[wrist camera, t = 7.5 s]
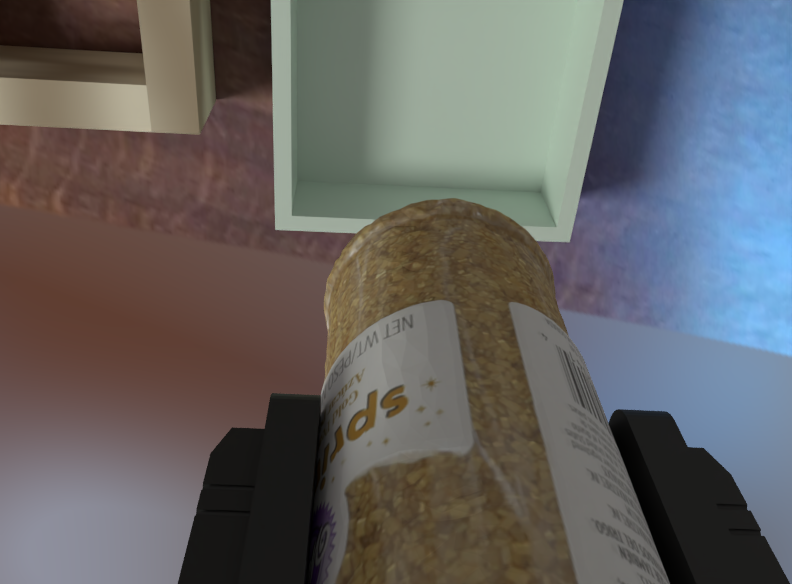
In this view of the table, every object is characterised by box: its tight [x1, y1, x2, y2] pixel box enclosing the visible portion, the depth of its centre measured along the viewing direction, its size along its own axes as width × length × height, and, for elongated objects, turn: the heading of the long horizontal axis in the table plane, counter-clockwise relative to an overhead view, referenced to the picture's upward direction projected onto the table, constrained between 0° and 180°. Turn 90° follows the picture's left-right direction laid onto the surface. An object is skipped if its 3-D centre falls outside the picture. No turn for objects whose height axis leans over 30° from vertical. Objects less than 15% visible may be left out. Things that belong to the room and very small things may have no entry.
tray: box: [271, 0, 624, 242], centre depth 26 cm, size 11×11×4 cm
